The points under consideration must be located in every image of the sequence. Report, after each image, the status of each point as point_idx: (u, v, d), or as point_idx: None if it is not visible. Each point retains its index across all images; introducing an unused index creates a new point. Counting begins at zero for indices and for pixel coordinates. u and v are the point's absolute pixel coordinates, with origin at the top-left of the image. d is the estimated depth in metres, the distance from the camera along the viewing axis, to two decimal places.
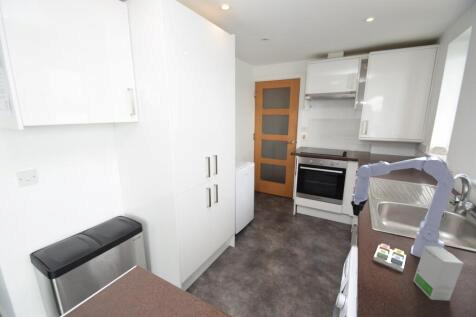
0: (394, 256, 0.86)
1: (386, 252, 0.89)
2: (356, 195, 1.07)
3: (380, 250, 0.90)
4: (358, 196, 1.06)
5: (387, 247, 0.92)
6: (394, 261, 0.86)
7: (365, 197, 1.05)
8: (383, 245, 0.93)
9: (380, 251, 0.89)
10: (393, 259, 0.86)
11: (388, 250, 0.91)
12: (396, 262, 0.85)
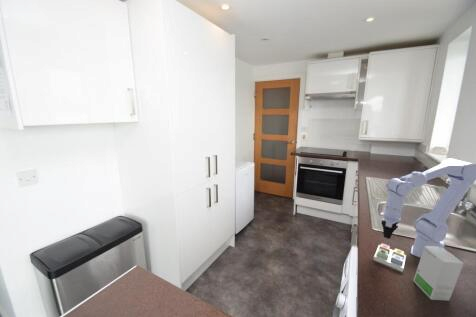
0: (394, 256, 0.86)
1: (386, 252, 0.89)
2: (387, 215, 0.88)
3: (380, 250, 0.90)
4: (389, 216, 0.87)
5: (387, 247, 0.92)
6: (394, 261, 0.86)
7: (398, 218, 0.87)
8: (383, 245, 0.93)
9: (380, 251, 0.89)
10: (393, 259, 0.86)
11: (388, 250, 0.91)
12: (396, 262, 0.85)
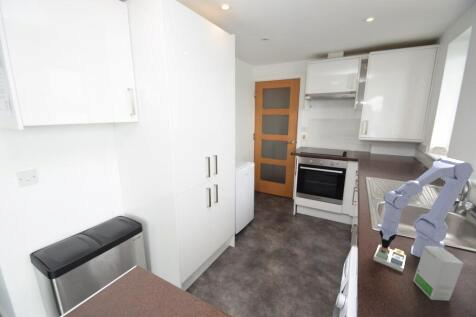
0: (394, 256, 0.86)
1: (386, 252, 0.89)
2: (384, 227, 0.90)
3: (380, 250, 0.90)
4: (387, 228, 0.89)
5: (387, 248, 0.92)
6: (394, 261, 0.86)
7: (395, 230, 0.88)
8: None
9: (380, 251, 0.89)
10: (393, 259, 0.86)
11: (388, 251, 0.91)
12: (396, 262, 0.85)
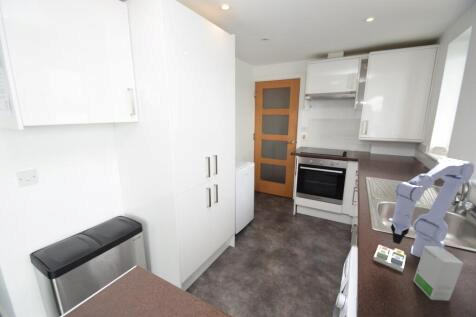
0: (394, 256, 0.86)
1: (386, 252, 0.89)
2: (396, 221, 0.83)
3: (380, 250, 0.90)
4: (399, 222, 0.83)
5: (387, 249, 0.92)
6: (394, 261, 0.86)
7: (408, 224, 0.82)
8: (382, 247, 0.94)
9: (380, 251, 0.89)
10: (393, 259, 0.86)
11: (388, 252, 0.91)
12: (396, 262, 0.85)
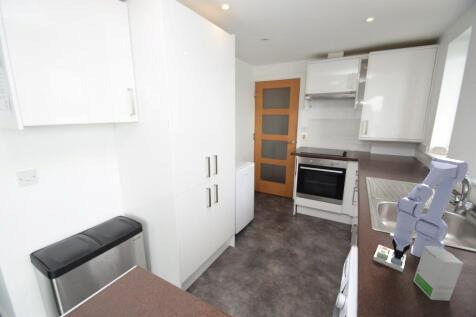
0: None
1: (386, 252, 0.89)
2: (397, 236, 0.83)
3: (380, 250, 0.90)
4: (400, 238, 0.82)
5: (387, 249, 0.92)
6: (394, 261, 0.86)
7: (410, 240, 0.81)
8: (382, 247, 0.94)
9: (380, 251, 0.89)
10: (393, 259, 0.86)
11: (388, 252, 0.91)
12: (396, 262, 0.85)
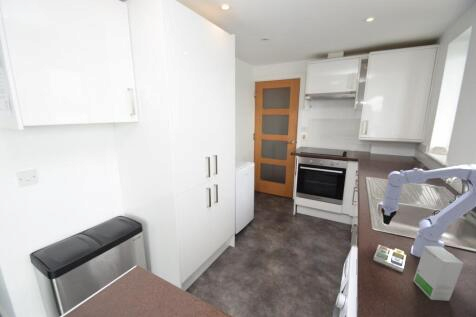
0: (393, 258, 0.87)
1: (386, 252, 0.89)
2: (385, 204, 0.97)
3: (380, 250, 0.90)
4: (388, 206, 0.96)
5: (387, 249, 0.92)
6: None
7: (396, 207, 0.95)
8: (382, 247, 0.94)
9: (380, 251, 0.89)
10: (392, 261, 0.86)
11: (388, 252, 0.91)
12: None
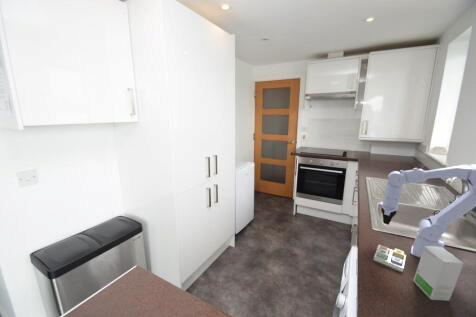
0: (393, 258, 0.87)
1: (386, 252, 0.89)
2: (385, 204, 0.97)
3: (380, 250, 0.90)
4: (388, 206, 0.96)
5: (387, 249, 0.92)
6: None
7: (396, 207, 0.95)
8: (382, 247, 0.94)
9: (380, 251, 0.89)
10: (392, 261, 0.86)
11: (388, 252, 0.91)
12: None
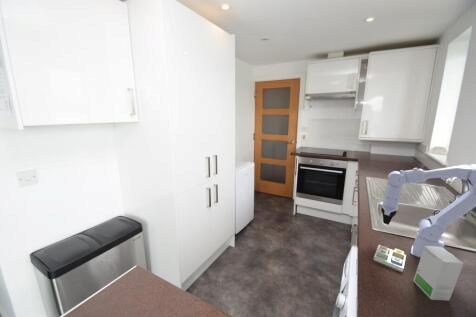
0: (393, 258, 0.87)
1: (386, 252, 0.89)
2: (385, 204, 0.97)
3: (380, 250, 0.90)
4: (388, 206, 0.96)
5: (387, 249, 0.92)
6: None
7: (396, 207, 0.95)
8: (382, 247, 0.94)
9: (380, 251, 0.89)
10: (392, 261, 0.86)
11: (388, 252, 0.91)
12: None
